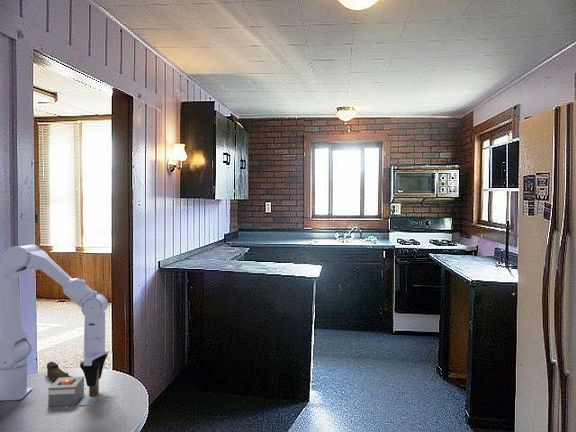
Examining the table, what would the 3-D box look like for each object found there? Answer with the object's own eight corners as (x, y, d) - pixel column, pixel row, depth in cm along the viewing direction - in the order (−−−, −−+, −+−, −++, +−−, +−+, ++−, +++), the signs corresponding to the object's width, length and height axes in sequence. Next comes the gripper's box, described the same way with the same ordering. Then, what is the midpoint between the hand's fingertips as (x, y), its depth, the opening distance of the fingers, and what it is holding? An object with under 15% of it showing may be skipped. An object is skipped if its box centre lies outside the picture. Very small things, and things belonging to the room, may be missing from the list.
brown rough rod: (76, 388, 135) (76, 373, 135) (62, 392, 132) (62, 376, 132) (57, 372, 149) (57, 358, 149) (44, 375, 146) (44, 361, 146)
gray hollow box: (48, 406, 122) (48, 388, 122) (58, 394, 130) (58, 377, 130) (74, 405, 123) (75, 387, 123) (83, 393, 131) (84, 376, 131)
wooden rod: (88, 395, 129) (88, 365, 129) (90, 392, 132) (91, 362, 132) (97, 395, 130) (97, 364, 130) (99, 391, 132) (100, 361, 132)
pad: (77, 406, 122) (77, 405, 122) (83, 398, 127) (83, 397, 127) (92, 405, 123) (92, 404, 123) (97, 398, 128) (97, 397, 128)
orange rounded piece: (58, 391, 125) (58, 382, 125) (62, 386, 128) (62, 378, 128) (70, 390, 125) (70, 382, 125) (74, 386, 128) (74, 378, 128)
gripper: (102, 343, 124) (101, 391, 124) (114, 329, 139) (113, 372, 139) (76, 343, 123) (75, 392, 123) (90, 330, 138) (90, 373, 137)
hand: (94, 382), depth 131 cm, fingers open, 5 cm apart
